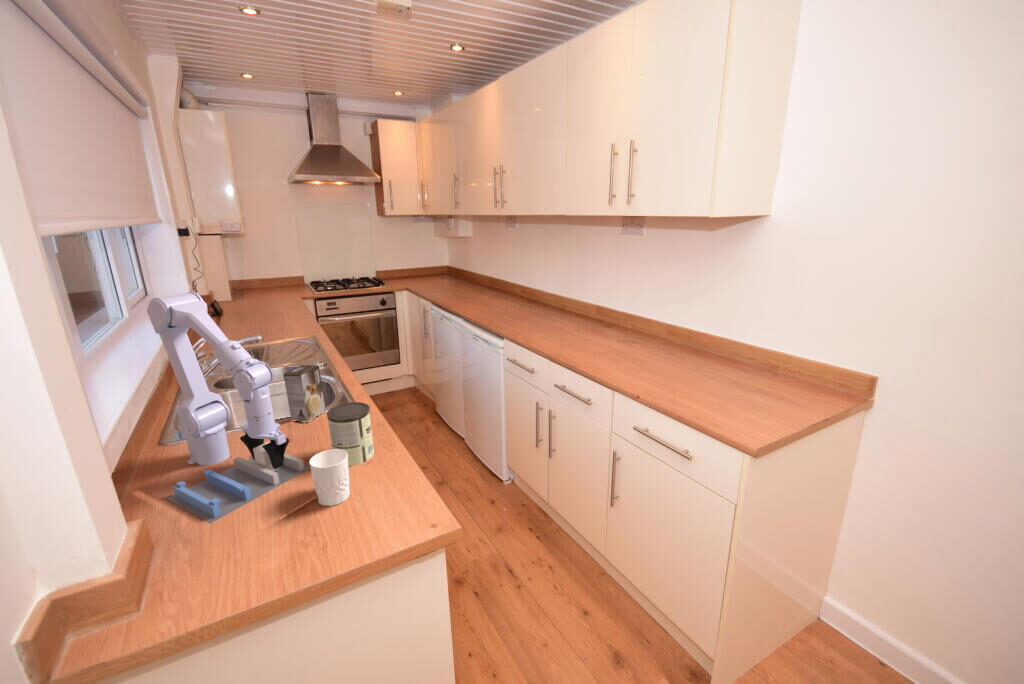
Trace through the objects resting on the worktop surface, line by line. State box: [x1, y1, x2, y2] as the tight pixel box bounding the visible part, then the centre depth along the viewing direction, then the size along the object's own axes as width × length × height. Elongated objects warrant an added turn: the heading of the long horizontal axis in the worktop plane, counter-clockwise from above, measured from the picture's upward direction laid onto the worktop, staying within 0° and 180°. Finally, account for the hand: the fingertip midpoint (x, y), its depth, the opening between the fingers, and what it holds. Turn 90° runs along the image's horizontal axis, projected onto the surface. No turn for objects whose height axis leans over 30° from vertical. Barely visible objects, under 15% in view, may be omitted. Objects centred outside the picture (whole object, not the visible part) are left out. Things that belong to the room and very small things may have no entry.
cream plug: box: [253, 441, 282, 471], centre depth 110 cm, size 4×4×6 cm
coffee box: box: [283, 364, 327, 421], centre depth 141 cm, size 9×6×16 cm
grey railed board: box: [166, 452, 311, 524], centre depth 105 cm, size 18×24×4 cm
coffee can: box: [326, 401, 375, 467], centre depth 115 cm, size 10×10×14 cm
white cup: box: [308, 449, 351, 507], centre depth 99 cm, size 8×8×10 cm
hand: (268, 463), depth 111 cm, fingers open, 7 cm apart
